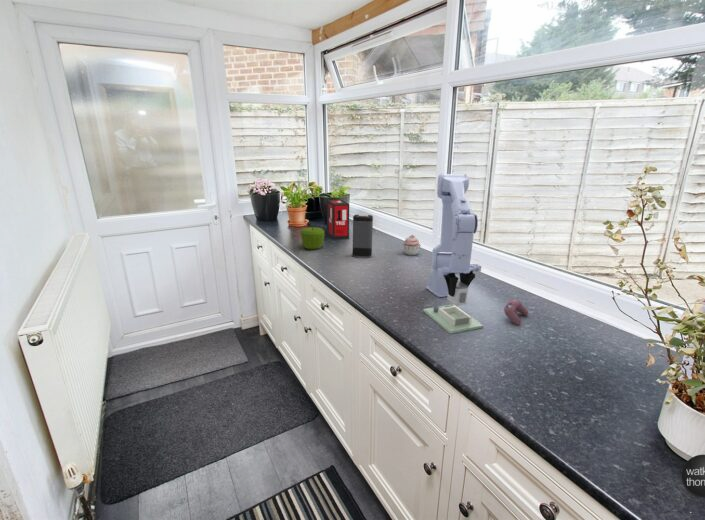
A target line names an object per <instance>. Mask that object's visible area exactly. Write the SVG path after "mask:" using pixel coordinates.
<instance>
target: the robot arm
mask: <svg viewBox="0 0 705 520" xmlns="http://www.w3.org/2000/svg"><path fill="white" fill-rule="evenodd" d="M469 184H470V178H469V175H468V174H467V173H465V174H463V173H462V174H455V173H440V174H438V177H437V186H436V187H437V188H436V189H437V190H436V194H437V195H436V196H437V198H439V199H441V202H442V207H441V227H440V241H439V242H440V243H439V244H438V245H436V246H435V247H434V248H433V249H432V250H431V258H430V260H431V261H430V266H431V269H430V271H429V275H428V285H427V286H426V289H427V290H428V291H430V292H431V293H432V294H434V295H435V296H436V297H438V298H445V297H448V294H449V295H450V296H452V297H454V295H455V289H456V284H457V282H458V281H460V282H462V283H464V284H465V285H467V286H468V288H469V286H470V284H471V283H472V282H473V280H474V279H475V278H476V274H475V273H474V272H478V273H479V272H481V271H482V265H481V264H478V263H474V264H473V263H471V260H472V251H473V242H474V234H476V233H477V231H478V222H479V220H478V215H477V214H476V213H475V212H473V211H472V206H471V202H470V201H469V199H468V198H466V195H465V194H466V193H467V191H468V189H469ZM457 274H459V277H458V276H457Z"/></svg>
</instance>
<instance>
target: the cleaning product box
mask: <svg viewBox="0 0 705 520" xmlns="http://www.w3.org/2000/svg"><path fill="white" fill-rule="evenodd" d="M326 233H327V235H328V236H329V237H331V238H332V239H333V241H335V240H338V241H339V240H349V239H350V204H349V202H347V201H345V200H342V199H327V200H326Z"/></svg>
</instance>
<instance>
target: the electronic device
mask: <svg viewBox="0 0 705 520" xmlns="http://www.w3.org/2000/svg"><path fill="white" fill-rule="evenodd" d="M373 221H374V216H373V215H371V214H367V215H360V214H354V215H353V216H352V257H353V258H365V257H366V259H367V258H368V259H369V257H370V258H372V255H373V253H372V251H373V224H374V222H373Z"/></svg>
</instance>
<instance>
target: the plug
mask: <svg viewBox="0 0 705 520" xmlns="http://www.w3.org/2000/svg"><path fill="white" fill-rule="evenodd" d="M468 289H469V287H468V286H467V285H465V284H464V283H462V282H460V280H458V282H457V284H456V289H455V295H454V297H452V296H450V295H449V294H448V296H447V298H446V299H447V300H448V301H450V302H451V303H452V304H454V305H455V306H457V307H458V306H463V305H467V299H468V291H469V290H468Z"/></svg>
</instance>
